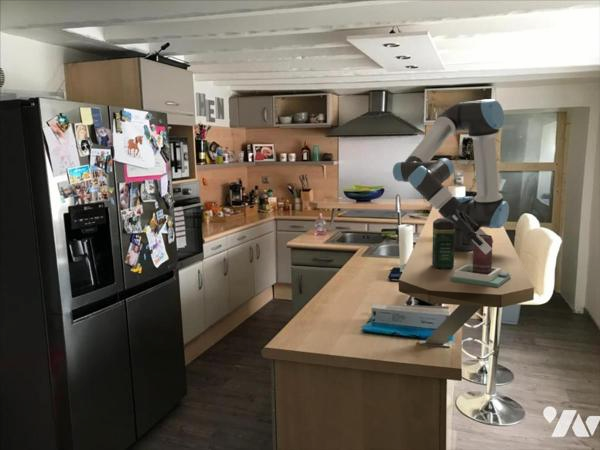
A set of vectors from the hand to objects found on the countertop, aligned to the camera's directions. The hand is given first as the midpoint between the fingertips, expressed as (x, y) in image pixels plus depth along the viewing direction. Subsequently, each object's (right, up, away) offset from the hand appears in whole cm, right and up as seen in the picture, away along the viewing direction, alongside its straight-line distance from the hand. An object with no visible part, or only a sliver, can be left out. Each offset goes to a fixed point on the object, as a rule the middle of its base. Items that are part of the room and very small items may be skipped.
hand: (490, 247), depth 167 cm
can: (-2, -10, +3) cm, 10 cm away
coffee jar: (-10, -8, +22) cm, 26 cm away
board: (-2, -11, +3) cm, 12 cm away
